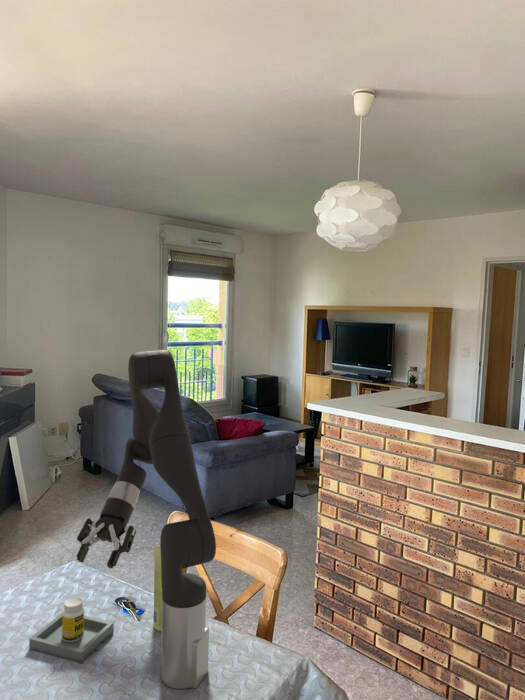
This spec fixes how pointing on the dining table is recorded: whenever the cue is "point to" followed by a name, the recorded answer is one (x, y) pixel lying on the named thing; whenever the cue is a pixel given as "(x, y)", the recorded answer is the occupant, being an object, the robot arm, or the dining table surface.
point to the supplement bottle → (73, 620)
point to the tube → (157, 589)
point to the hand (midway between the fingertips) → (94, 564)
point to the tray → (77, 651)
